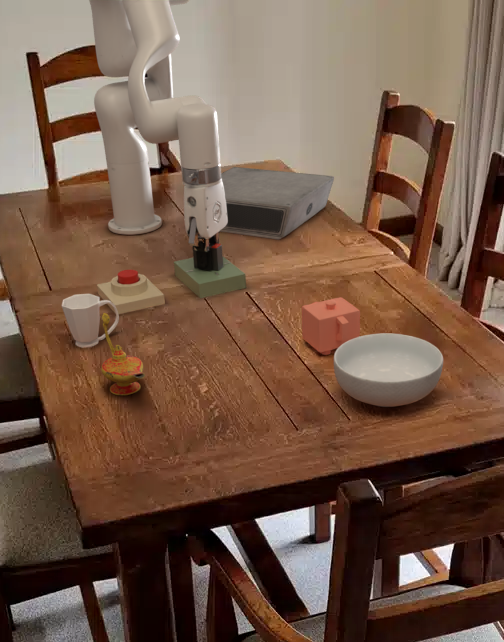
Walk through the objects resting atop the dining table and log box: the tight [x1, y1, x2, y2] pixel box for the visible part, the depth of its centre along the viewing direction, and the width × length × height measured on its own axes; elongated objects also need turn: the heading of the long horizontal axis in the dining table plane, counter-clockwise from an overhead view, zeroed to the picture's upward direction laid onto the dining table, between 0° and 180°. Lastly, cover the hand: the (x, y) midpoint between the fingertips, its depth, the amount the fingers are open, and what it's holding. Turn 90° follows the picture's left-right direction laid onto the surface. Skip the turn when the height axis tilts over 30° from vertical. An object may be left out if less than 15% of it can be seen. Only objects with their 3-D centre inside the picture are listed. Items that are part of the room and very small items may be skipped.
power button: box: [117, 269, 139, 284], centre depth 186 cm, size 4×4×2 cm
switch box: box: [96, 273, 166, 315], centre depth 187 cm, size 12×10×4 cm
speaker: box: [220, 166, 335, 241], centre depth 223 cm, size 24×8×30 cm
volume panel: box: [173, 256, 247, 299], centre depth 193 cm, size 14×10×3 cm
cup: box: [61, 293, 120, 348], centre depth 171 cm, size 7×10×8 cm
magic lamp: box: [100, 312, 146, 396], centre depth 153 cm, size 7×18×11 cm, turn 25°
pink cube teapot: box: [301, 296, 361, 356], centre depth 165 cm, size 8×12×8 cm, turn 24°
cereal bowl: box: [333, 332, 444, 408], centre depth 149 cm, size 17×17×7 cm
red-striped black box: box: [191, 242, 224, 271], centre depth 191 cm, size 6×2×5 cm, turn 65°
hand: (208, 265), depth 192 cm, fingers closed on red-striped black box, 2 cm apart
